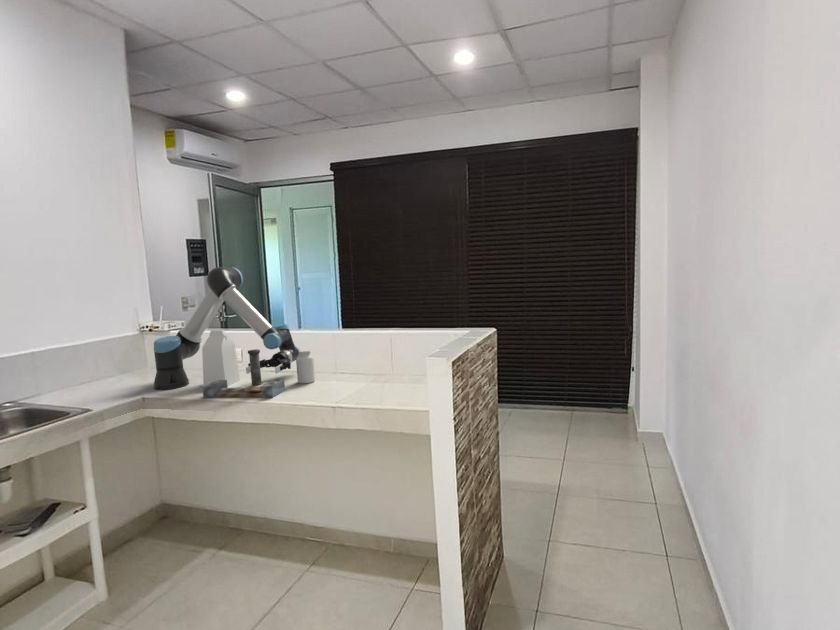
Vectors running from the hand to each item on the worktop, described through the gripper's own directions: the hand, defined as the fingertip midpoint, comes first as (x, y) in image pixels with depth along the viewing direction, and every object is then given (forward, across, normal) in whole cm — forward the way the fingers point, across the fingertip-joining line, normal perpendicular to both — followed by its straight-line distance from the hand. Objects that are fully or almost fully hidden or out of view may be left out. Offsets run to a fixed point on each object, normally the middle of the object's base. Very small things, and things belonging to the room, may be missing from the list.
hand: (261, 370), depth 223 cm
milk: (-16, +29, -10) cm, 34 cm away
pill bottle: (-17, -13, -10) cm, 24 cm away
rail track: (+4, +7, -10) cm, 12 cm away
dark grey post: (+4, +1, -8) cm, 9 cm away
